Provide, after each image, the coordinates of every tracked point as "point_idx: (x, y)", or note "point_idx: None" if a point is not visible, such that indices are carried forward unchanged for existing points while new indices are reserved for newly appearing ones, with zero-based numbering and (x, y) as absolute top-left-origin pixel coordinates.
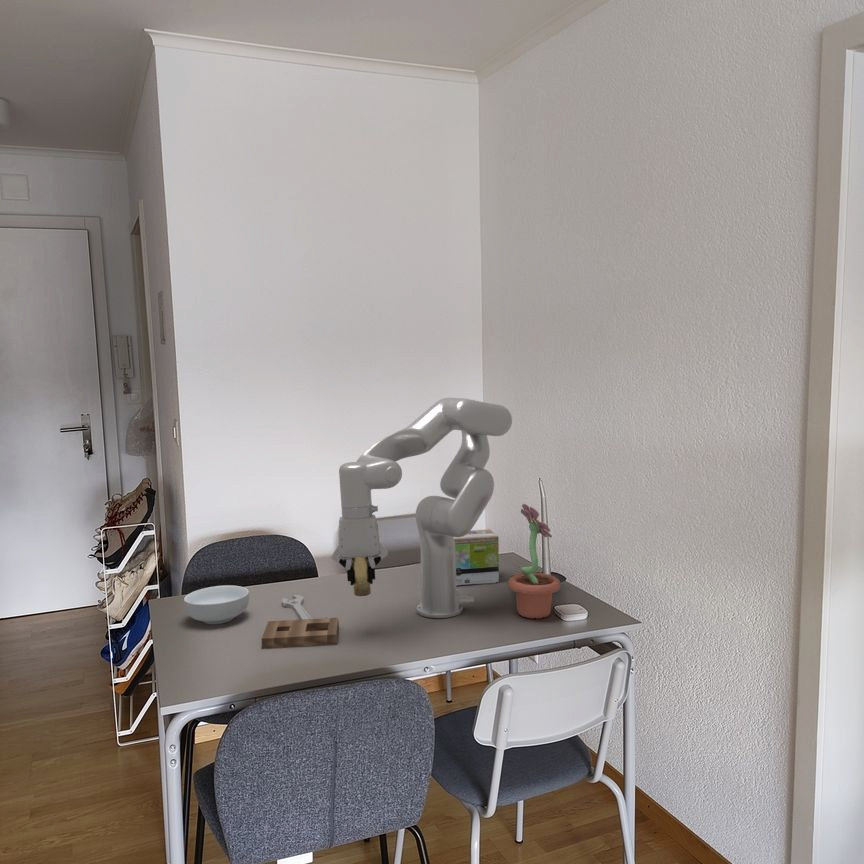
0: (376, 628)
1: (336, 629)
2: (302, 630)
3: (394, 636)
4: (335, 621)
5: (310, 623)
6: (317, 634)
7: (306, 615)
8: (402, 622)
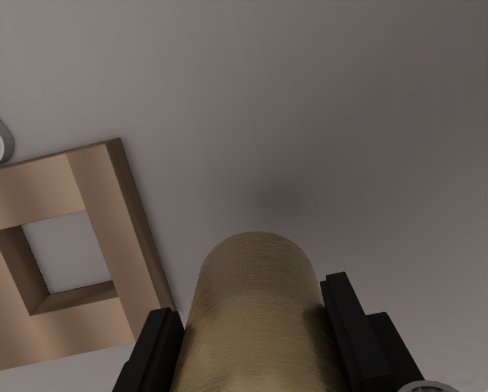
0: (291, 141)
1: (152, 286)
2: (13, 307)
3: (380, 221)
4: (111, 196)
5: (6, 227)
6: (95, 340)
7: None
8: (399, 54)
